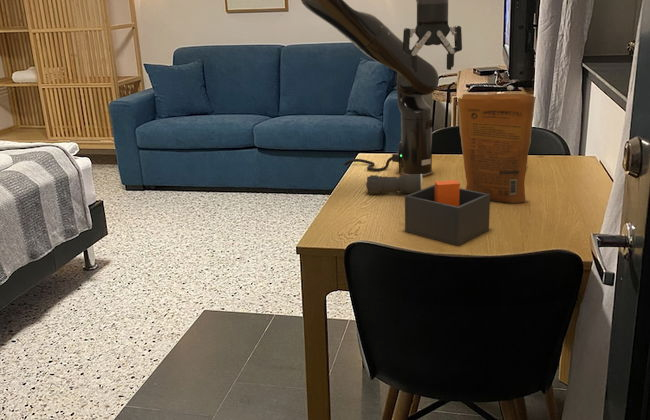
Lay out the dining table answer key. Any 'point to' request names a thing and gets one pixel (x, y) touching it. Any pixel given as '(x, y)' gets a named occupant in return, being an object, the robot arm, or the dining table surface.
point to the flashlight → (394, 184)
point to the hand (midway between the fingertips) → (432, 70)
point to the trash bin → (447, 216)
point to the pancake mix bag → (496, 143)
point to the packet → (447, 192)
